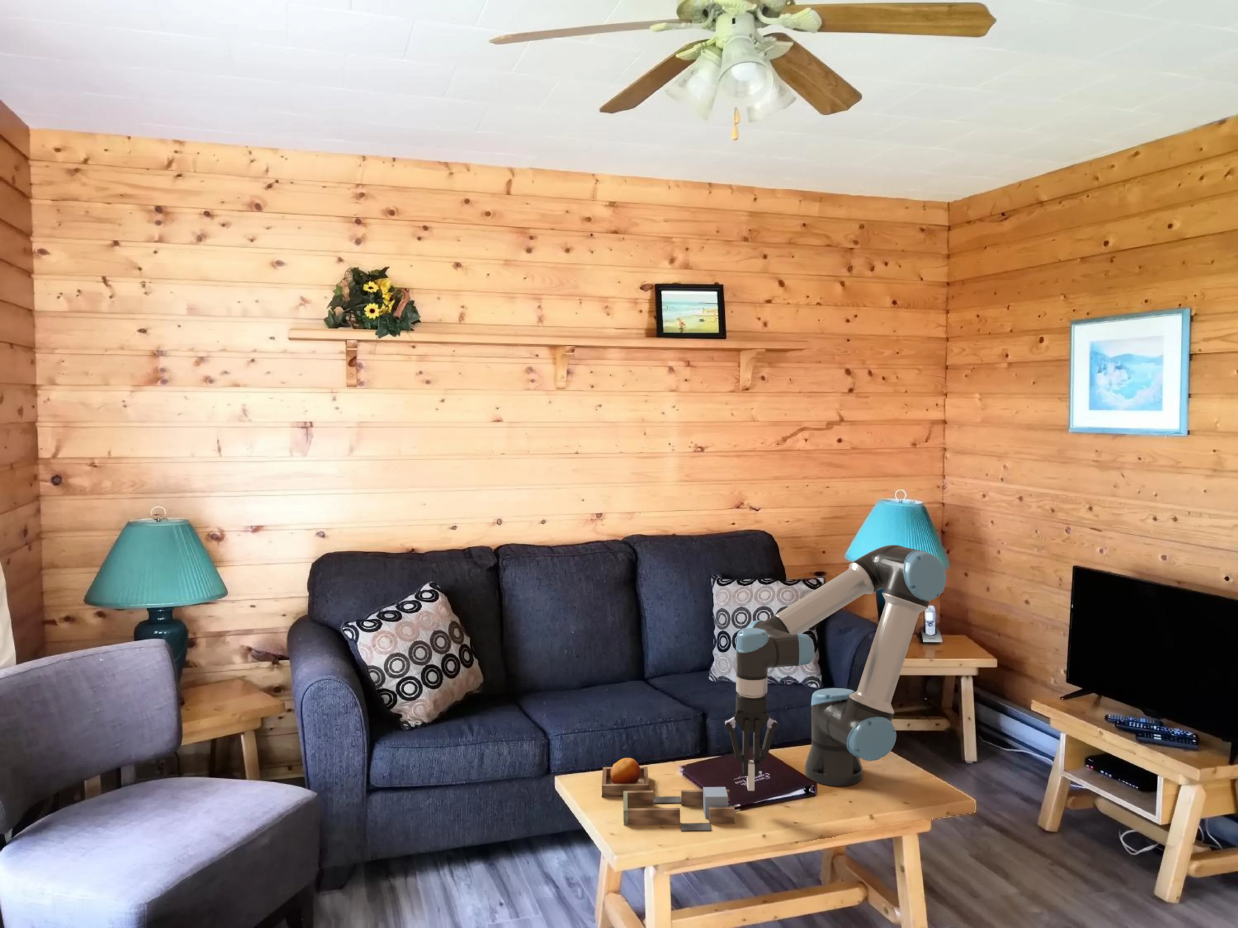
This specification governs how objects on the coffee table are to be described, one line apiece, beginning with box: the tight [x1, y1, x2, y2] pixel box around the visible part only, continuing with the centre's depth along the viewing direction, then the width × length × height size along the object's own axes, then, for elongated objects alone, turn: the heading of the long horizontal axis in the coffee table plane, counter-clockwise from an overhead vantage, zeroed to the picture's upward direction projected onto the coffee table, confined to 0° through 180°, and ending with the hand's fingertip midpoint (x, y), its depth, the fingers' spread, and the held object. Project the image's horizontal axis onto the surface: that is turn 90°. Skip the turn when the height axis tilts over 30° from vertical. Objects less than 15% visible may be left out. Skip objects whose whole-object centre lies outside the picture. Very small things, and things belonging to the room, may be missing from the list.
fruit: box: [610, 757, 641, 784], centre depth 238 cm, size 8×8×8 cm
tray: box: [601, 766, 650, 798], centre depth 238 cm, size 12×12×3 cm
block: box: [702, 786, 729, 820], centre depth 222 cm, size 6×6×6 cm
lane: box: [622, 789, 736, 832], centre depth 222 cm, size 26×18×4 cm
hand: (750, 788), depth 222 cm, fingers closed
